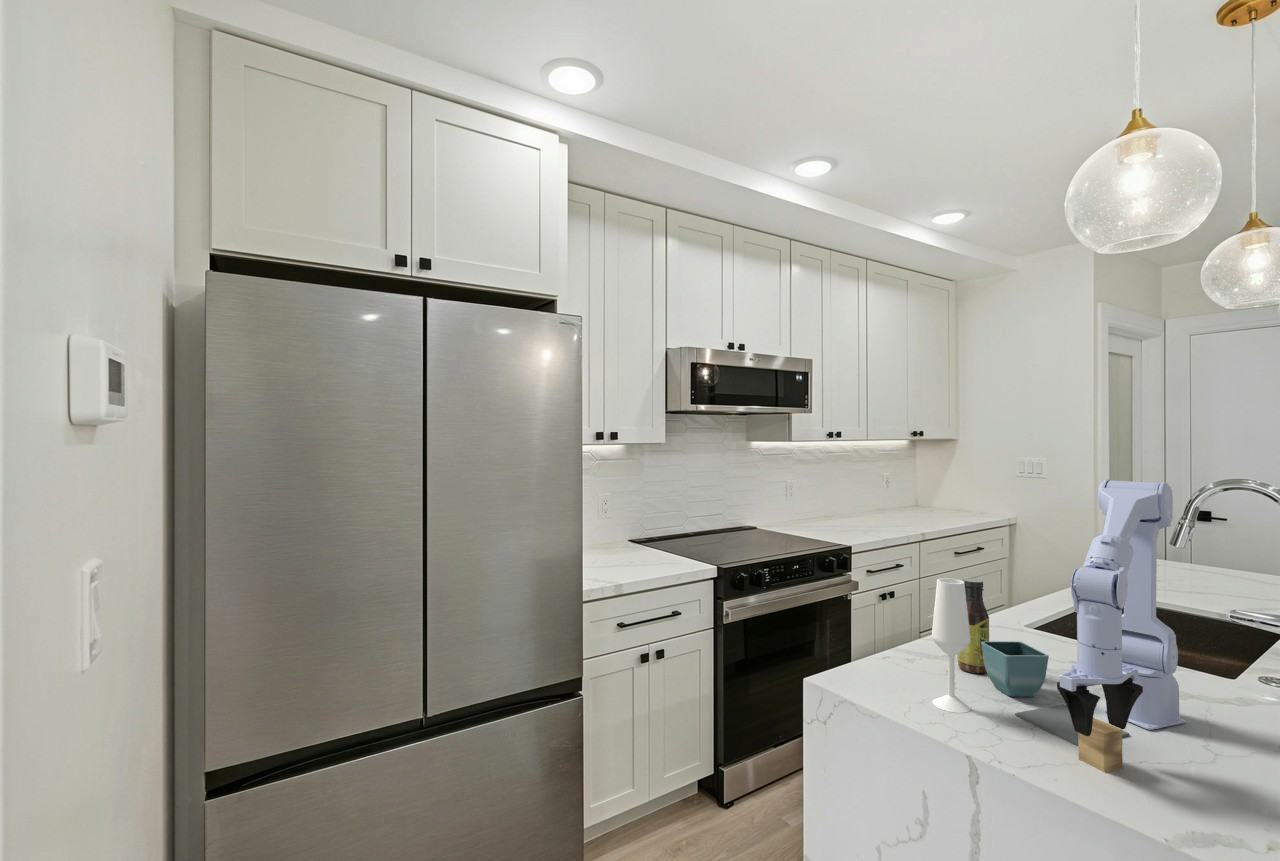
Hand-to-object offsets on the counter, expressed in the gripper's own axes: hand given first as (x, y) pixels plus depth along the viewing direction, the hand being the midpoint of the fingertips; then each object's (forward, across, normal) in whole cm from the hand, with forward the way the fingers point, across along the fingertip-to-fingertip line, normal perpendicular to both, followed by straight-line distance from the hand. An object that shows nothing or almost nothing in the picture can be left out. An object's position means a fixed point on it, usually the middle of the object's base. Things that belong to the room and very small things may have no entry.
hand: (1099, 729), depth 97 cm
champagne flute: (+6, +6, -24) cm, 25 cm away
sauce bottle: (+5, -13, -37) cm, 40 cm away
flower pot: (+6, -11, -25) cm, 28 cm away
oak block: (+5, 0, 0) cm, 5 cm away
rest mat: (+5, -8, -11) cm, 15 cm away
